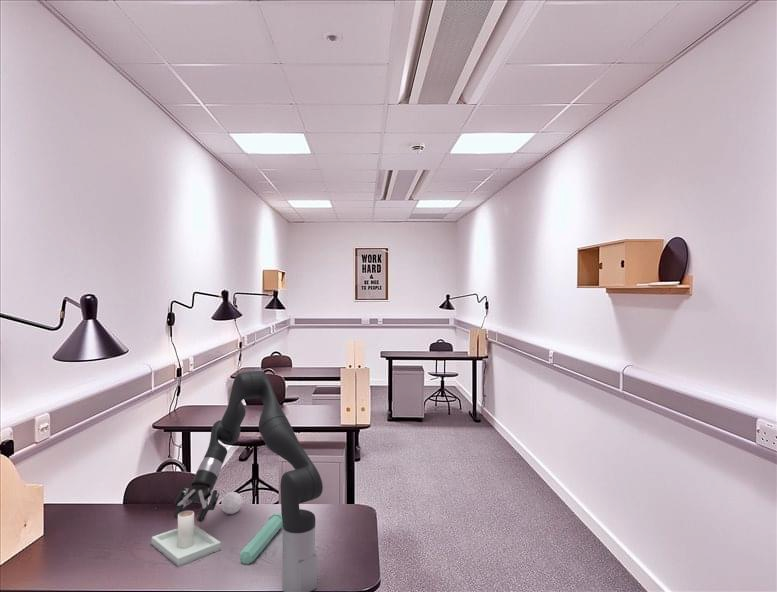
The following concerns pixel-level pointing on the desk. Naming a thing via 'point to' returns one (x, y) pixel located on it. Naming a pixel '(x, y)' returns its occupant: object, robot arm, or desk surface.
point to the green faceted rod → (261, 539)
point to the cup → (185, 529)
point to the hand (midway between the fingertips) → (187, 520)
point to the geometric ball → (231, 503)
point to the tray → (181, 556)
